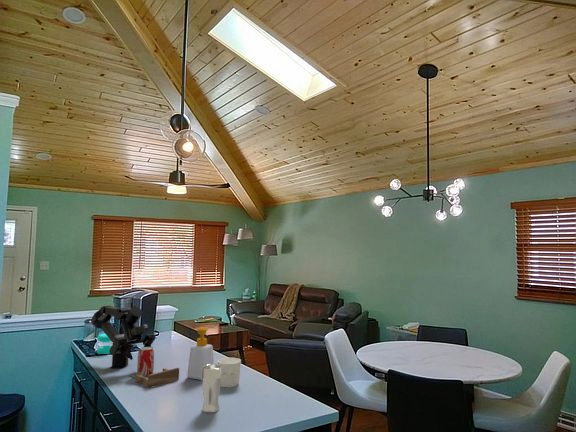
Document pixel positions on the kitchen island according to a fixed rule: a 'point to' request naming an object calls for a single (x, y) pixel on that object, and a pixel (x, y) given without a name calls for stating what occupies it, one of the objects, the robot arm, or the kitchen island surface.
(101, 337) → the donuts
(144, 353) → the soda can
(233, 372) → the cup
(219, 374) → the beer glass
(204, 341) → the soap bottle
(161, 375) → the shelf lane
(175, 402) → the kitchen island surface
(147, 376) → the mat
